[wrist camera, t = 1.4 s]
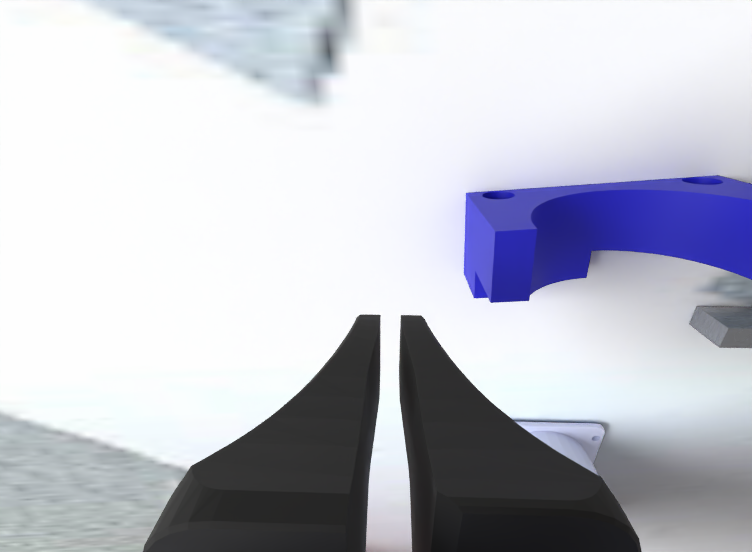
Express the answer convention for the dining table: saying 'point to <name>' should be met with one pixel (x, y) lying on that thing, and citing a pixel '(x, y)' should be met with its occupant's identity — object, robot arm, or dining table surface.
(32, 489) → the dining table surface
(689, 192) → the blue stepped block
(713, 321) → the rail bracket
